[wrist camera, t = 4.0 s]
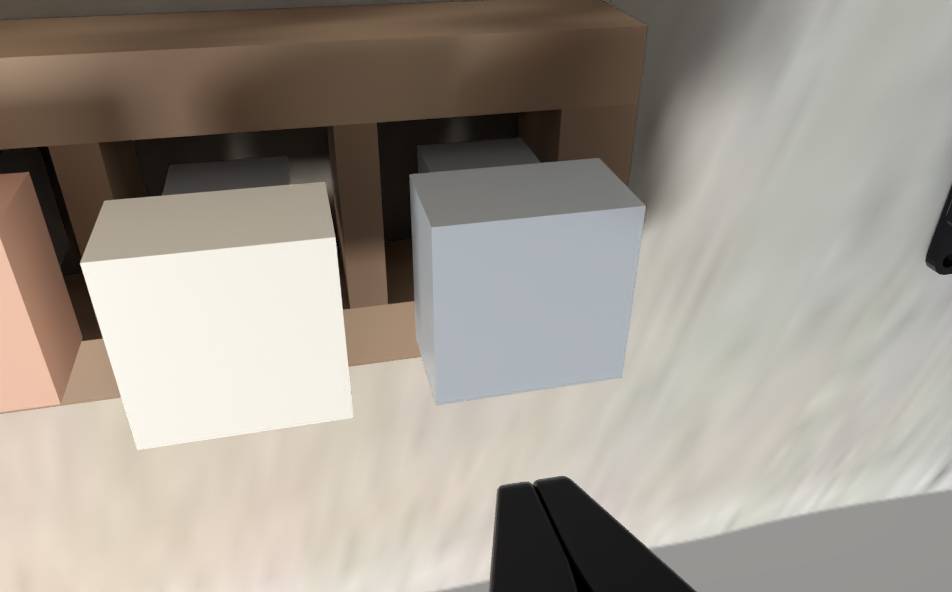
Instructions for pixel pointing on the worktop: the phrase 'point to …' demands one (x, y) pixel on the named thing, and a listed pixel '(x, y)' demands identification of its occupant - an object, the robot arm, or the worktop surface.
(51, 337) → the key terracotta
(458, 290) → the key slate
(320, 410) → the key ivory
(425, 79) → the key panel
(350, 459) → the worktop surface
